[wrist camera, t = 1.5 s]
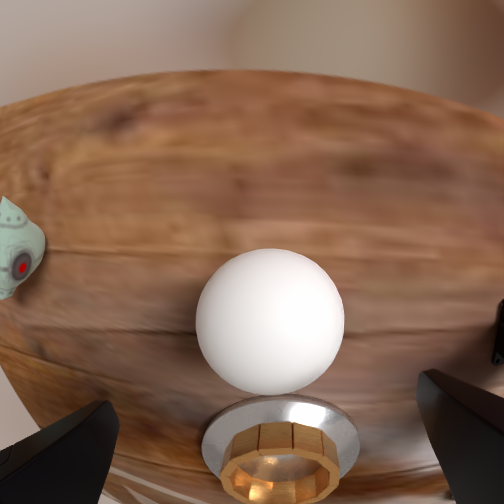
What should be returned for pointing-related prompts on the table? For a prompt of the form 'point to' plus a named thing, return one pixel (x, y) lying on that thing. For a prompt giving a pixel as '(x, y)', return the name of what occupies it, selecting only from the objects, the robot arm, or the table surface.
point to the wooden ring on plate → (280, 449)
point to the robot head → (17, 247)
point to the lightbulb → (269, 321)
